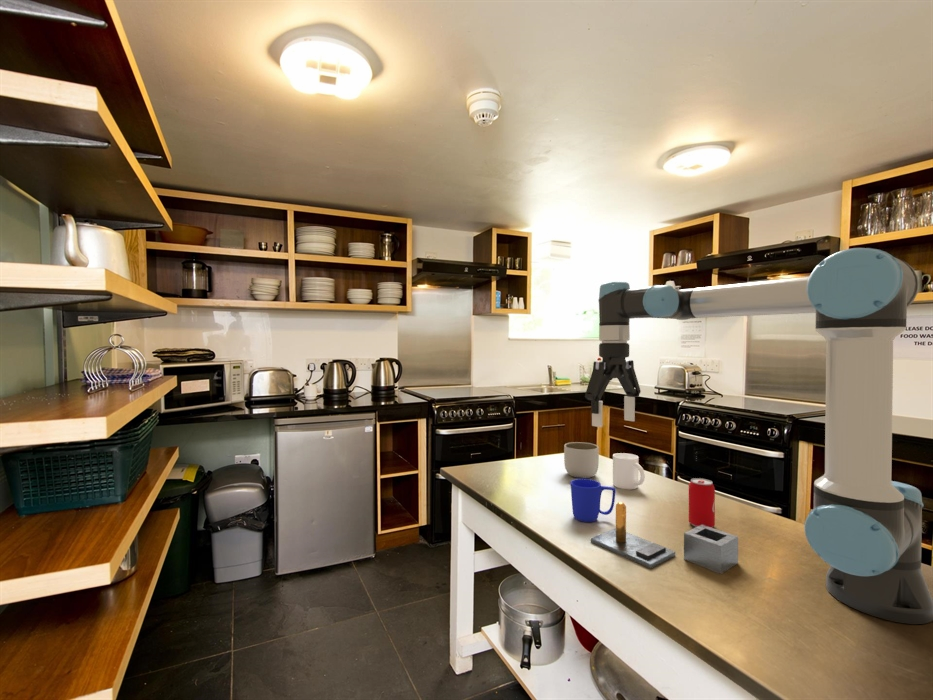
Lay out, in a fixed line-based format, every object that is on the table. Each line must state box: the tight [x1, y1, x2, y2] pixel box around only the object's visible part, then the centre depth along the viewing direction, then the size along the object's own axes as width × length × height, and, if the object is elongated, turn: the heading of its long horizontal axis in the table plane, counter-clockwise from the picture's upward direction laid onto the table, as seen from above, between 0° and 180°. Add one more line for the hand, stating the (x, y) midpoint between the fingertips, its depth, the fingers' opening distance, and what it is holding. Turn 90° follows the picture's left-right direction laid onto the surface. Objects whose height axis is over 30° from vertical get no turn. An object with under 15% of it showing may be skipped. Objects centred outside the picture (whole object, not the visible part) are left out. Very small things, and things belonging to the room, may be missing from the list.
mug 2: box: [612, 452, 646, 491], centre depth 151 cm, size 12×8×10 cm
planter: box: [563, 441, 600, 479], centre depth 165 cm, size 12×12×11 cm
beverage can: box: [688, 477, 716, 528], centre depth 119 cm, size 6×6×12 cm
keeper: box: [590, 501, 676, 570], centre depth 106 cm, size 16×10×10 cm, turn 36°
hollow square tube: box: [683, 525, 739, 575], centre depth 100 cm, size 8×8×6 cm
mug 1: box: [570, 478, 616, 523], centre depth 124 cm, size 8×12×10 cm
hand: (613, 423), depth 116 cm, fingers open, 13 cm apart
